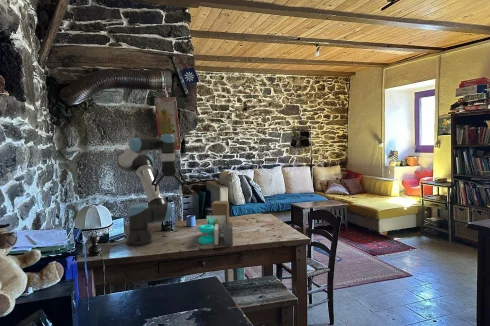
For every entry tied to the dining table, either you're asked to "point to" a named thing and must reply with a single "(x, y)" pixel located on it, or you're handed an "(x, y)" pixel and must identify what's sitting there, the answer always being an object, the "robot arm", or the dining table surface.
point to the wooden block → (221, 208)
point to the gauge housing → (222, 228)
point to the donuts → (207, 238)
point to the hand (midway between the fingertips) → (169, 196)
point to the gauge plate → (216, 233)
